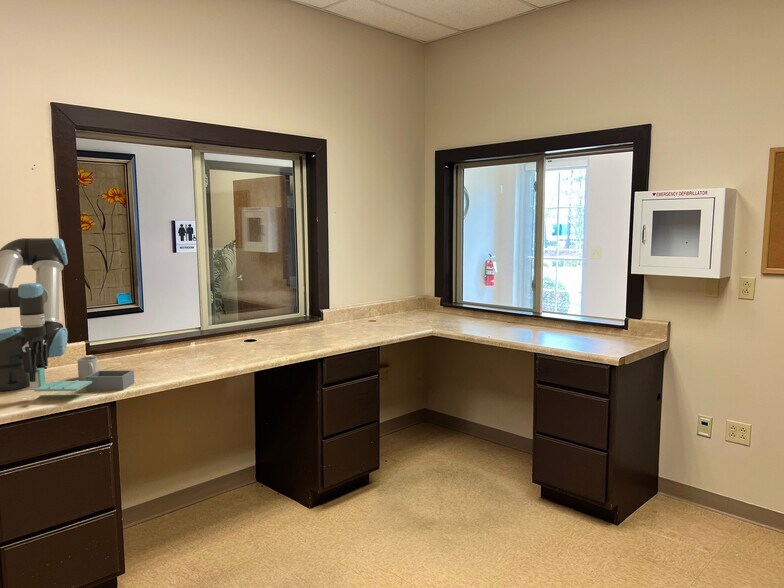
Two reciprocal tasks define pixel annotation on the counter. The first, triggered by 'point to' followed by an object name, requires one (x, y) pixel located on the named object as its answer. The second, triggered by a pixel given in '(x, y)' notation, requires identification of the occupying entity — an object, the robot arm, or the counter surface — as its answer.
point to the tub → (110, 380)
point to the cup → (86, 367)
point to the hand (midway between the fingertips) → (37, 388)
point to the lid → (58, 383)
